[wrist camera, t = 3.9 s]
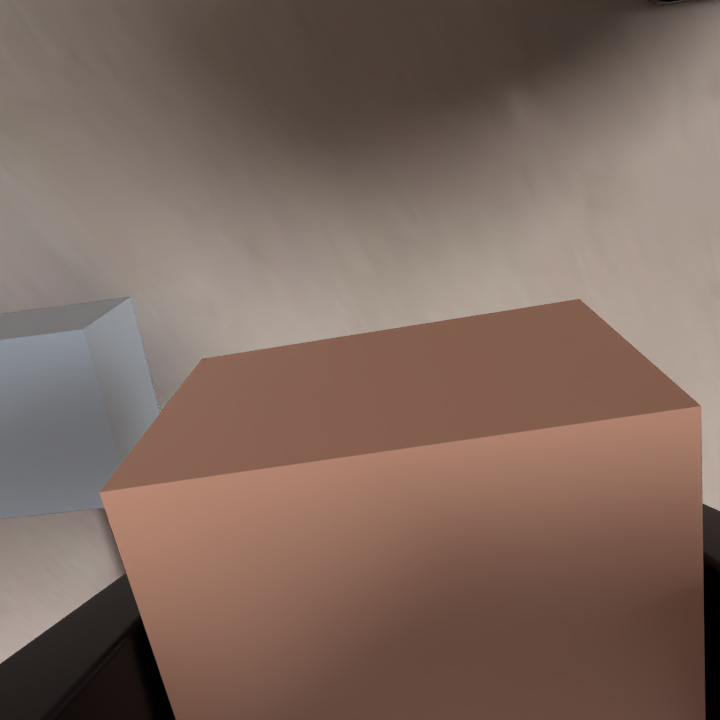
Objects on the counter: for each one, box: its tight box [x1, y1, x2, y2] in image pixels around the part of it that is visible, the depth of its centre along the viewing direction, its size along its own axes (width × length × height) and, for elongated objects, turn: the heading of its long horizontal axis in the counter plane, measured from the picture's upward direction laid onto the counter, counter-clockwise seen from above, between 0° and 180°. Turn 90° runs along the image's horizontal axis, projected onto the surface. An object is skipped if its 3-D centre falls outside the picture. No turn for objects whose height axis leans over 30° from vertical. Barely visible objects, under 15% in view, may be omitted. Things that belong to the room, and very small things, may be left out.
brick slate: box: [0, 297, 160, 519], centre depth 19 cm, size 5×5×4 cm
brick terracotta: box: [99, 299, 706, 720], centre depth 8 cm, size 5×5×4 cm
